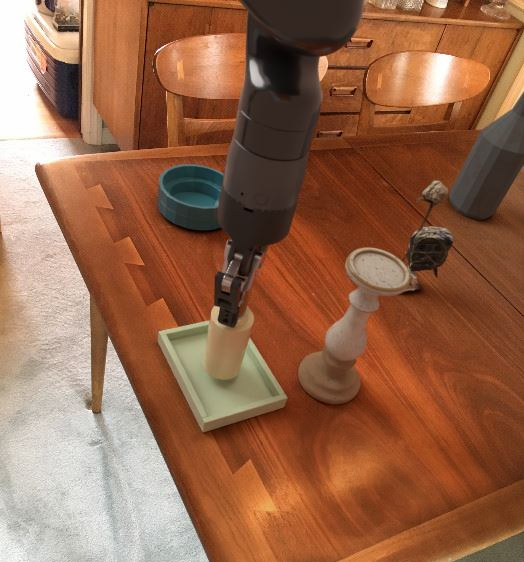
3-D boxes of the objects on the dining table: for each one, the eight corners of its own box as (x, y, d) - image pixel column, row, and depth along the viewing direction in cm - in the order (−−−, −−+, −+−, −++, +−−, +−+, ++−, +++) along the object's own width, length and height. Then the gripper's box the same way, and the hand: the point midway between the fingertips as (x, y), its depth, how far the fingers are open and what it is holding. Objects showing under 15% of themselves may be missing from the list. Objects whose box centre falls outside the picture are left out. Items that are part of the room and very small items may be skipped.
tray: (157, 341, 76) (158, 331, 74) (233, 324, 81) (235, 314, 79) (202, 432, 67) (204, 423, 66) (284, 407, 72) (287, 397, 71)
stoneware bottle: (195, 371, 71) (210, 286, 60) (210, 344, 75) (227, 260, 64) (233, 385, 71) (255, 302, 60) (246, 358, 74) (269, 275, 64)
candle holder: (327, 347, 81) (375, 235, 67) (370, 387, 78) (431, 278, 63) (284, 371, 77) (326, 256, 62) (329, 415, 73) (384, 304, 58)
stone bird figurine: (431, 306, 93) (490, 204, 79) (366, 284, 93) (413, 179, 79) (433, 277, 99) (489, 178, 84) (372, 257, 99) (418, 154, 85)
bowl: (144, 216, 94) (145, 190, 90) (175, 180, 103) (178, 156, 99) (216, 242, 93) (221, 217, 89) (242, 204, 102) (247, 180, 98)
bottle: (501, 218, 118) (589, 74, 96) (468, 223, 114) (552, 73, 92) (471, 191, 124) (548, 49, 102) (438, 194, 119) (510, 47, 98)
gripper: (248, 141, 58) (224, 267, 71) (197, 207, 49) (179, 339, 61) (316, 165, 58) (279, 287, 70) (278, 236, 48) (243, 364, 60)
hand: (233, 311), depth 66 cm, fingers closed on stoneware bottle, 4 cm apart
